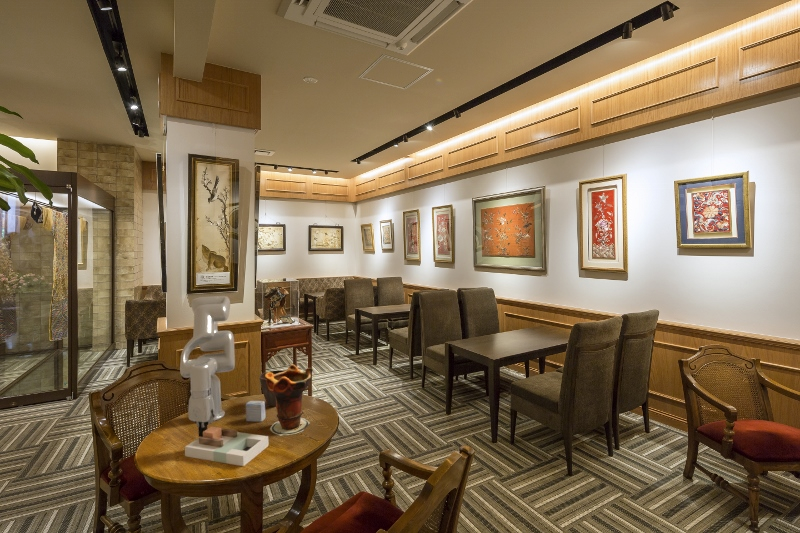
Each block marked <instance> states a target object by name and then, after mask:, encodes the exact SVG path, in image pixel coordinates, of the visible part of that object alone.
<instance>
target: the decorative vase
mask: <svg viewBox="0 0 800 533" xmlns="http://www.w3.org/2000/svg"><path fill="white" fill-rule="evenodd" d="M283 371H284V372H281V373H277V374H273V373H271V372H269V371H267V372H268V373H266V374H265V378H266V379H267V386H268V388H269V390H270V391H271V392H272V393H274V394H275V399H276V406H275V408H276V412H277V414H276V418H277V421H276V422H274V423H273V424H271V425H272V426H270V428H269V430H270V431H271V433H273V434H274V435H278V436H280V437H281V436H290V435H296V434H298V433H302V432H303V431H305V428H307V427H308V425H309V424H310V421H308V419H307V418H306V416H304V418H303V417H302V415H305V413H304V411H302V406H303V405H302V404H303V395H304V394H303V392H304V391H305V390H307V389H308V387H309V385H310V383H311V379H312V372H313V368H311V367H307V368H305V370H304V371H303V370H300V369H299V368H298V367H297V366H296V365H295V364H290V365H289V366H288V368H287V369H286V370H283ZM300 424H302V425H301V426H300ZM298 427H299V428H298ZM295 428H298V429H296V430H294V429H295Z"/></svg>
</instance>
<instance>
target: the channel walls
mask: <svg viewBox="0 0 800 533" xmlns="http://www.w3.org/2000/svg"><path fill="white" fill-rule="evenodd" d="M220 428H221V431H222V436H227V437H234V438H236V437H237V432H238V430H235V429H228V428H223V427H220ZM198 438H199V444H203V445H209V446H216V447H223V440H220V439H214V438H207V437H198Z"/></svg>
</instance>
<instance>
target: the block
mask: <svg viewBox="0 0 800 533" xmlns="http://www.w3.org/2000/svg"><path fill="white" fill-rule="evenodd" d="M221 428H222V427H217V426H210V427H209V428H208V427H207V430H205V431H203V437H207V438H214V439H220V438H221V437H222V431H221Z"/></svg>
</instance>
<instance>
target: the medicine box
mask: <svg viewBox="0 0 800 533" xmlns="http://www.w3.org/2000/svg"><path fill="white" fill-rule="evenodd" d="M245 416H246V420H245V421H246V422H263V421H264V420H265V419H266V418H267V417H266V400H265V401H264V400H249V401H248V402H246V404H245Z"/></svg>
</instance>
